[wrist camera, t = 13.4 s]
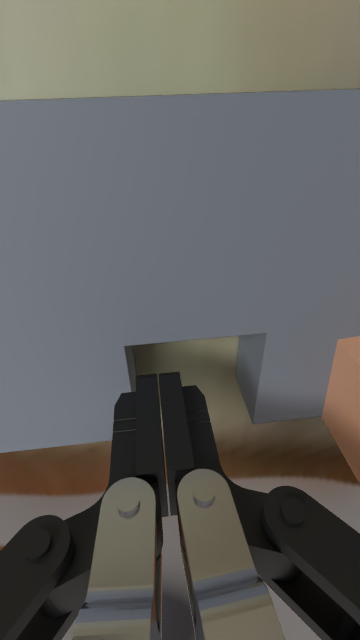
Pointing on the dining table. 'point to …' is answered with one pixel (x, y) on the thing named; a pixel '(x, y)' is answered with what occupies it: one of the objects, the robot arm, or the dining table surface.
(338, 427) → the block
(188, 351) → the dining table surface
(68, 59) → the dining table surface
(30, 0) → the dining table surface
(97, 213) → the board
